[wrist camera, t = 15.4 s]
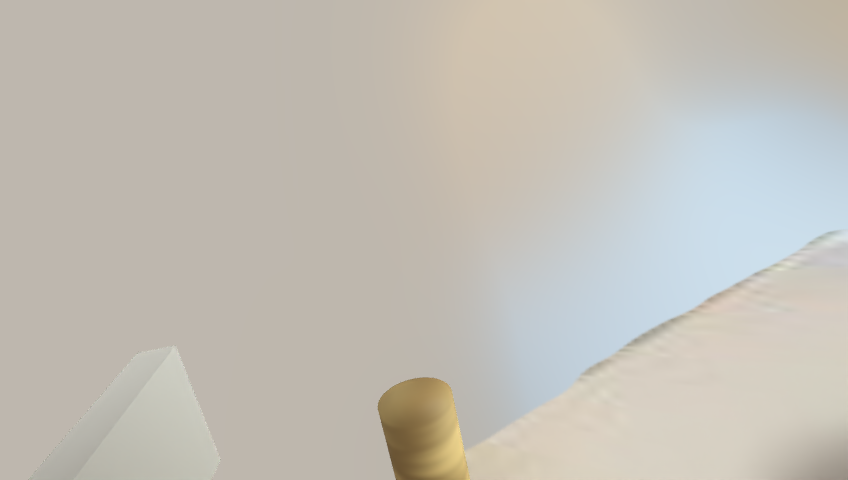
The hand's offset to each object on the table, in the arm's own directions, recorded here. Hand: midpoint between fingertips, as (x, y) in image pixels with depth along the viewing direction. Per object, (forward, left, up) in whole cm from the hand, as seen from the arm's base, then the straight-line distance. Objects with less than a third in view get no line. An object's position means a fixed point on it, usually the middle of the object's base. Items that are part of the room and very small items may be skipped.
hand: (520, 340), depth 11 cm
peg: (+4, -16, -28) cm, 32 cm away
